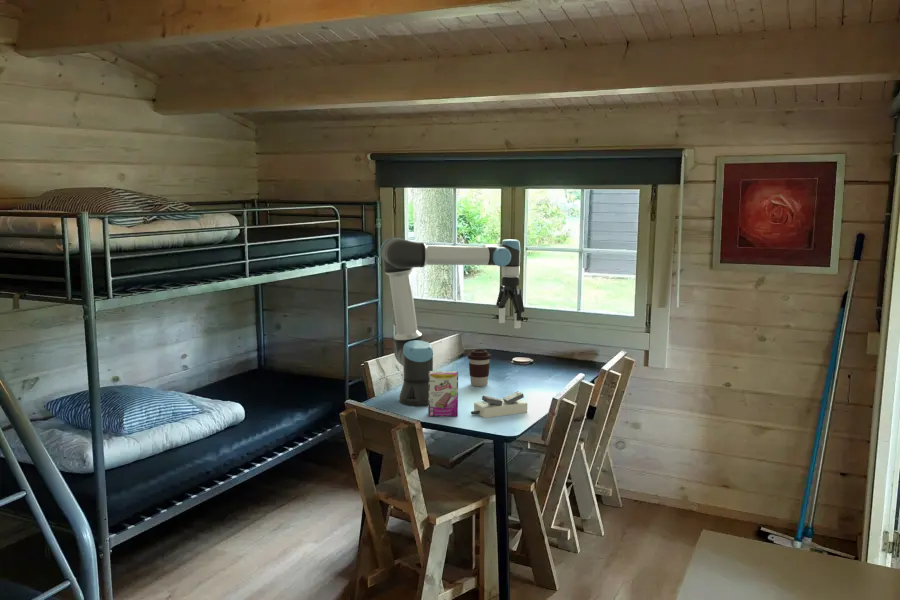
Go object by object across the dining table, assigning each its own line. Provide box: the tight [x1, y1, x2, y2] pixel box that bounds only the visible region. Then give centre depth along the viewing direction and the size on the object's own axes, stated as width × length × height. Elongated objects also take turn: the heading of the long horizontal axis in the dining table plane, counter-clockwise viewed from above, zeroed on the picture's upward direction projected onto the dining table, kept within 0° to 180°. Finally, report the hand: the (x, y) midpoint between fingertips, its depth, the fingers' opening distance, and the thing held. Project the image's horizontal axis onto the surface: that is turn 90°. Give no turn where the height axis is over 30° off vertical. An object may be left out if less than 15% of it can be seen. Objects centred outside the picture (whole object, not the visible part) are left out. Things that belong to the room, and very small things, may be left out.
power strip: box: [470, 398, 528, 419], centre depth 277 cm, size 21×9×4 cm, turn 113°
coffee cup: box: [467, 348, 492, 388], centre depth 316 cm, size 10×10×15 cm
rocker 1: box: [481, 395, 503, 405], centre depth 273 cm, size 7×4×2 cm, turn 113°
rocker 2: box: [502, 390, 525, 404], centre depth 277 cm, size 7×4×2 cm, turn 113°
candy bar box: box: [427, 370, 459, 417], centre depth 273 cm, size 11×5×16 cm, turn 92°
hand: (509, 325), depth 313 cm, fingers open, 13 cm apart
